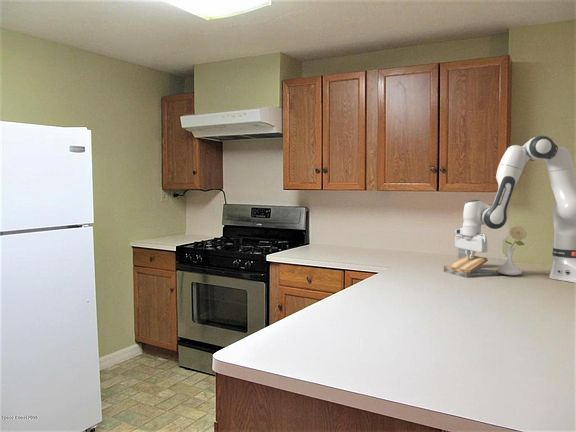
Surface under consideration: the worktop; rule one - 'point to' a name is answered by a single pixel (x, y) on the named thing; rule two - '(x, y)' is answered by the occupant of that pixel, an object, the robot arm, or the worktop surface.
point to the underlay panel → (475, 273)
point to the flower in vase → (509, 266)
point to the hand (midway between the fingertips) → (469, 259)
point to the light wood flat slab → (469, 263)
